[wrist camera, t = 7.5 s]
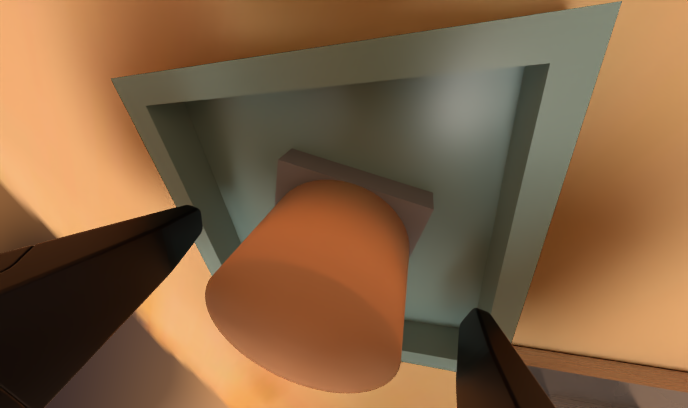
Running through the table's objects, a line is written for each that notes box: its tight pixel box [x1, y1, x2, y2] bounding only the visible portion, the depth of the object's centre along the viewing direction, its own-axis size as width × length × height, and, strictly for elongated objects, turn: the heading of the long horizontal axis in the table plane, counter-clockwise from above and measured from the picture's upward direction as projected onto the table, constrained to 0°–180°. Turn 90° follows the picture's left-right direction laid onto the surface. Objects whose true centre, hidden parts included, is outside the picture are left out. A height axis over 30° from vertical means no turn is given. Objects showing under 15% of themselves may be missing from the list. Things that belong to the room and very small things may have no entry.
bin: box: [111, 1, 622, 372], centre depth 10 cm, size 12×12×2 cm
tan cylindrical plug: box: [205, 149, 434, 393], centre depth 8 cm, size 5×5×4 cm
